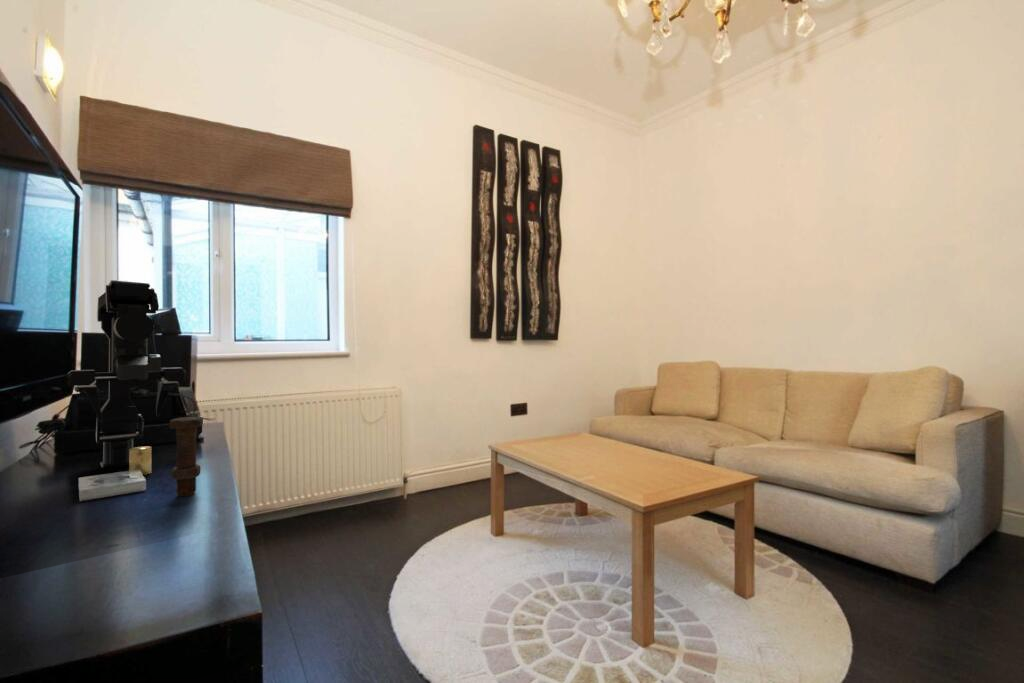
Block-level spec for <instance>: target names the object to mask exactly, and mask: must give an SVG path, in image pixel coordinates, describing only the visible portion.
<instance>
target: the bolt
mask: <svg viewBox="0 0 1024 683" xmlns="http://www.w3.org/2000/svg"><path fill="white" fill-rule="evenodd" d="M203 425H204V419H203V417H201V416H185V417H175V418H171V419H170V421H169V427H168V428H169V429H175V436H176V466H175V467H173V468H172V470H171V478H172V479H174V480H176V495H177V496H178V497H183V496H184V497H188V496H192V495H193V494H195V493H196V491H197V484H196V483H197V479H196V478H197V477H199V476H200V474H201V465H199V464H197V457H196V456H197V452H196V451H197V434H198V428H199V427H201V426H203Z"/></svg>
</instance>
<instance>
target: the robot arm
mask: <svg viewBox="0 0 1024 683" xmlns="http://www.w3.org/2000/svg"><path fill="white" fill-rule="evenodd" d="M158 300H159V298H158V295H157V292H155V289H154V287H151V284H150V282H146V281H135V280H134V281H133V280H120V279H119V280H118V279H112V280H110V281H109V282H108V284H106V285H105V292H104V293H103V294H101V295H100V296H99V297H98V298H97V307H96V309H97V312H96V320H97V322H98V323H99V322H100V329H101V330H102V332H103V333H104V334H105V335H106V337H107V338H108V372H96V370H95V369H75V370H74V369H72V370H70V371H69V372H67V378H66V379H67V381H66V382H67V384H66V385H67V387H76V388H75V389H76V391H84V393H85V394H86V396H87V398H88V400H89V401H90V403H91V405H92V408H93V410H94V412H95V415H96V422H95V424H96V425H95V442H96V444H99V443H103V448H102V454H103V456H102V461H101V462H100V466H101V467H100V468H101V469H108V468H109V469H110V468H117V467H123V466H124V465H125V466H129V449H131V448H134V439H141V438H144V426H145V419H144V418H143V416H142V414H141V413H139V408H138V407H137V406H136V405H135V404H134V401H132V399H131V381H146V380H149V381H151V380H160V381H158V386H157V392H156V393H157V395H156V401H155V402H156V403H155V416H156V417H159V416H160V415H161V411H162V409H163V406H164V404H165V402H166V399H167V397H168V395H169V393H170V392H171V390H172V389H173V387H175V386H179V385H180V382H187V379H188V378H187V370H186V369H185V368H184V367H177V366H176V367H161V363H162V362H161V355H160V354H148V338H150V337H151V335H152V334H153V332H154V329H155V327H154V326H155V325H154V323H153V319H151V317H149V316H148V315H149V314H151V315H153V314H156V313H157V311H159V307H160V305H159V304H160V303H159V301H158ZM147 314H148V315H147ZM99 382H108V399H107V400H106V401H105V402H104V404H103V405H102V407H101V403H100V397H99V393H98V392H99V390H98V386H97V385H96V383H99ZM125 466H124V467H125Z"/></svg>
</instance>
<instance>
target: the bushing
mask: <svg viewBox="0 0 1024 683" xmlns="http://www.w3.org/2000/svg"><path fill="white" fill-rule="evenodd" d="M128 466H129V467H128V471H131V470H138V469H140V471H141V473H142V474H143V475H145V476H148V475H147V474H149V475H151V474H152V446H148V445H147V446H137V447H136V446H135V447H133V448H131V449H129V465H128ZM150 473H151V474H150Z"/></svg>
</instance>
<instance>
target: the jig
mask: <svg viewBox="0 0 1024 683" xmlns="http://www.w3.org/2000/svg"><path fill="white" fill-rule="evenodd" d="M146 490H147V480H146V477H145V476H143V474H142V473H141V471H140V469H138V470H131V471H129V470H124V471H118V472H110V473H103V474H96V475H89V476H82V477H78V498H79V502H82V501H83V500H84V501H90V500H95V499H101V498H102V499H103V498H107V497H113V496H114V497H115V496H118V495H125V494H131V493H137V492H144V491H146ZM84 501H83V502H84Z"/></svg>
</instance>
